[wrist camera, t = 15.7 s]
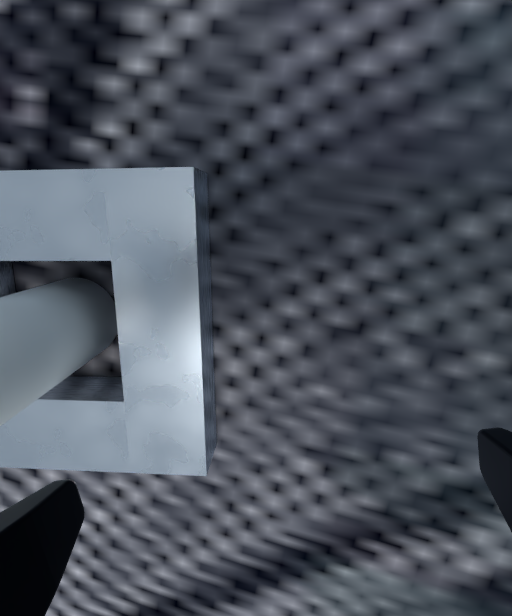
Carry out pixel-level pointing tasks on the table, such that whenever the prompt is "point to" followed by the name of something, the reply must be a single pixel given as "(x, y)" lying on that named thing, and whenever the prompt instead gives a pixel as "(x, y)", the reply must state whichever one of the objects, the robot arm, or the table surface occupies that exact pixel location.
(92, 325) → the plug
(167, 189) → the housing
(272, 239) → the table surface
